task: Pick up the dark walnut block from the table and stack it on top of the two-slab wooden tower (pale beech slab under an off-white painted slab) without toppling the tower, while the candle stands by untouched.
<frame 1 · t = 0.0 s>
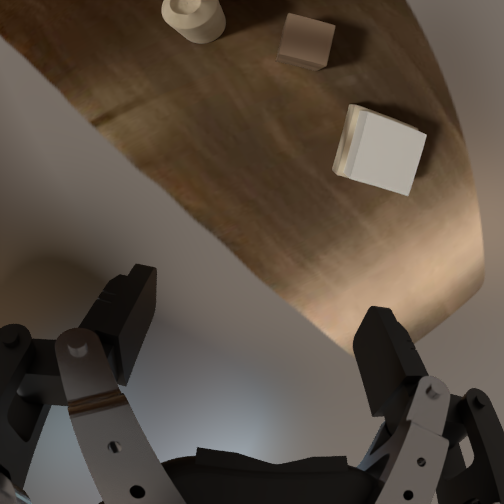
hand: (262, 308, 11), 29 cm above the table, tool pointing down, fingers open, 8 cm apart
slab upper: (380, 150, 33), point 2 cm above the table, touching slab lower
slab lower: (371, 146, 36), on the table, touching slab upper
walnut block: (300, 48, 30), on the table
candle: (204, 25, 29), on the table
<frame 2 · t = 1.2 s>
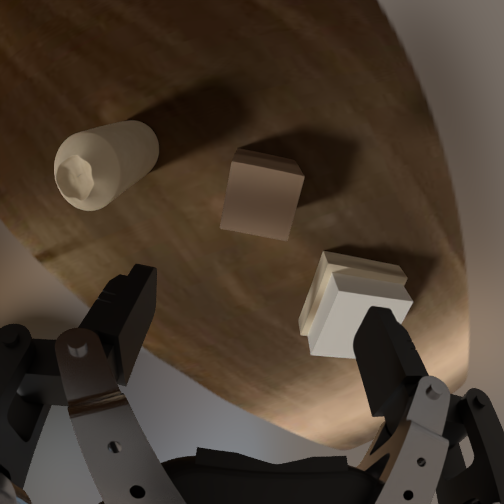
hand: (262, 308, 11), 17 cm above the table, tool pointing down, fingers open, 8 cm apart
slab upper: (355, 310, 30), point 2 cm above the table, touching slab lower
slab lower: (347, 291, 32), on the table, touching slab upper
walnut block: (260, 180, 26), on the table
candle: (132, 148, 25), on the table
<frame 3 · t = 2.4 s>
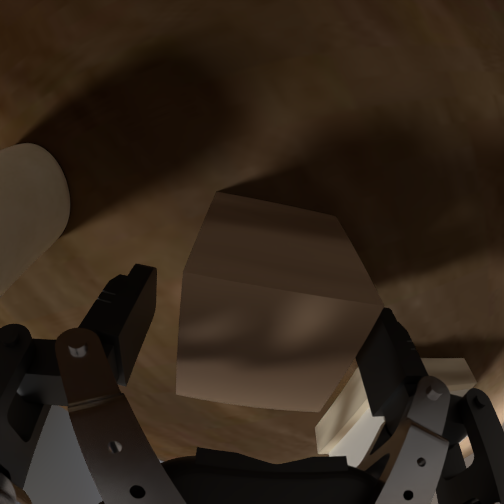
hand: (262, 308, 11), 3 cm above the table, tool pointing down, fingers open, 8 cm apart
slab upper: (399, 425, 17), point 2 cm above the table, touching slab lower
slab lower: (388, 392, 19), on the table, touching slab upper
walnut block: (264, 255, 13), on the table
candle: (33, 193, 12), on the table
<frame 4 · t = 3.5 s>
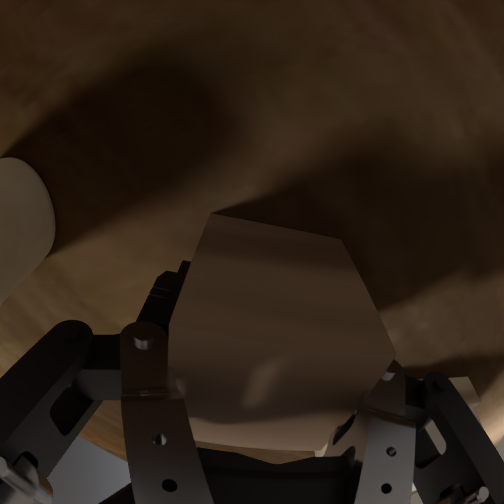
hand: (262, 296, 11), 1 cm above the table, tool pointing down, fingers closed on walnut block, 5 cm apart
slab upper: (400, 444, 16), point 2 cm above the table, touching slab lower
slab lower: (390, 411, 18), on the table, touching slab upper
walnut block: (263, 282, 12), on the table, touching gripper
candle: (18, 210, 11), on the table
when the fingers open (8 cm above the table, at t = 9.4 s): walnut block drops 1 cm, resting on slab upper.
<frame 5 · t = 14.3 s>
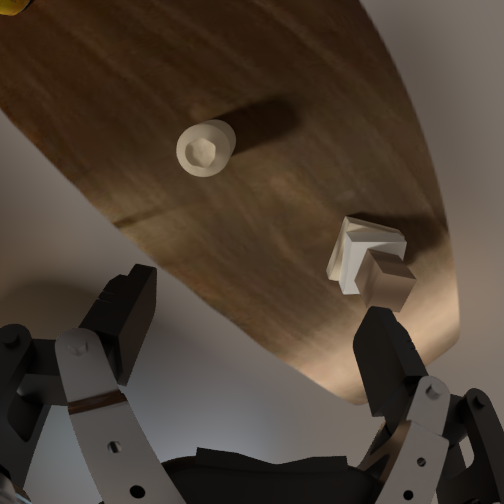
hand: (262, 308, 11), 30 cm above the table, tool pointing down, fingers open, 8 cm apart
slab upper: (368, 258, 41), point 2 cm above the table, touching slab lower, walnut block
slab lower: (361, 248, 44), on the table, touching slab upper
walnut block: (376, 268, 39), point 5 cm above the table, touching slab upper
candle: (214, 140, 37), on the table
beer can: (22, 0, 23), on the table
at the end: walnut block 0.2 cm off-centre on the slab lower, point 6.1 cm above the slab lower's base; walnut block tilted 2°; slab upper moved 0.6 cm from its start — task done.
